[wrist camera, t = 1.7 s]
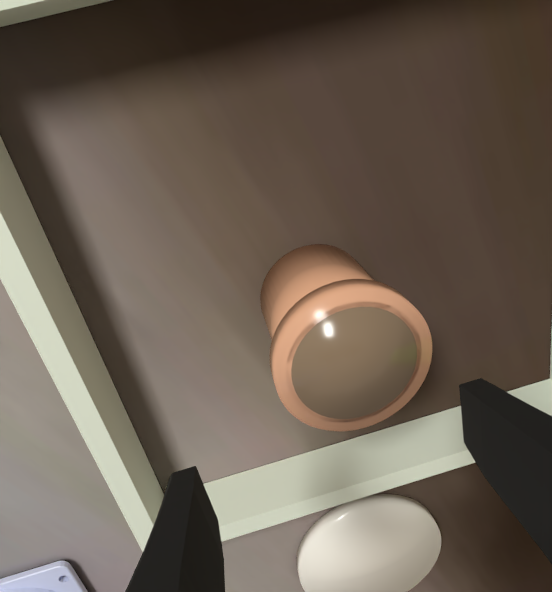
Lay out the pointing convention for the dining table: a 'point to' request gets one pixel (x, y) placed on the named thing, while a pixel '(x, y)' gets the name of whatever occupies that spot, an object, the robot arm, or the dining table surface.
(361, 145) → the dining table surface
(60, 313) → the rectangular frame
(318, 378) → the terracotta pot
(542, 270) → the dining table surface
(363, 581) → the saucer
